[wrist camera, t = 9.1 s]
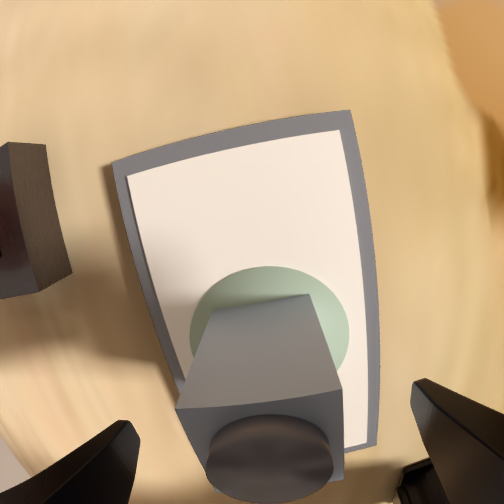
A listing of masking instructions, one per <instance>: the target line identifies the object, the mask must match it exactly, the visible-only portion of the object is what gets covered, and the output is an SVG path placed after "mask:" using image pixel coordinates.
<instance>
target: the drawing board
mask: <svg viewBox="0 0 504 504" xmlns="http://www.w3.org/2000/svg"><path fill="white" fill-rule="evenodd" d="M112 168H113V173H114V178H115V183H116V188H117V193H118V198H119V202H120V207H121V211H122V216H123V220H124V224H125V228H126V232H127V236H128V240H129V244H130V248H131V252H132V255H133V259H134V263H135V266H136V270H137V273H138V277H139V280H140V284H141V287H142V290H143V293H144V297H145V300H146V303H147V306H148V309H149V312H150V315H151V318H152V321H153V324H154V327H155V330H156V333H157V336H158V339H159V342H160V344H161V347H162V350H163V353H164V355H165V358H166V361H167V363H168V366H169V369H170V371H171V374H172V376H173V379H174V381H175V384H176V386H177V389H178V391H179V393H181V391H182V388H183V385H184V383H185V380H186V378H187V375H188V372H189V370H190V367H191V365H192V362H193V359H194V357H195V354H196V352H197V349H198V346H199V344H200V341H201V339H202V336H203V334H204V331H205V328H206V326H207V323H208V321H209V318H210V316H211V313H212V311H213V310H214V309H221V308H228V307H234V306H241V305H247V304H253V303H259V302H266V301H271V300H277V299H283V298H289V297H295V296H300V295H306V294H310V297H311V300H312V303H313V305H314V308H315V311H316V314H317V316H318V319H319V322H320V325H321V327H322V330H323V333H324V336H325V339H326V342H327V344H328V347H329V350H330V353H331V356H332V359H333V362H334V365H335V368H336V371H337V374H338V377H339V380H340V383H341V385H342V389H343V411H344V453H348V452H352V451H356V450H360V449H364V448H368V447H372V446H376V444H377V432H378V417H379V394H380V327H379V304H378V288H377V275H376V263H375V253H374V243H373V234H372V226H371V219H370V211H369V204H368V198H367V191H366V185H365V179H364V173H363V168H362V162H361V157H360V152H359V147H358V142H357V137H356V132H355V128H354V123H353V119H352V115H351V111H350V110H342V111H333V112H325V113H318V114H310V115H304V116H297V117H291V118H285V119H279V120H273V121H267V122H262V123H257V124H252V125H247V126H242V127H237V128H233V129H228V130H224V131H219V132H215V133H211V134H207V135H203V136H199V137H195V138H191V139H187V140H183V141H180V142H176V143H172V144H169V145H165V146H162V147H158V148H155V149H152V150H148V151H145V152H142V153H139V154H136V155H132V156H129V157H126V158H123V159H120V160H117V161H114V162H112Z"/></svg>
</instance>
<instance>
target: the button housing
mask: <svg viewBox="0 0 504 504" xmlns="http://www.w3.org/2000/svg"><path fill="white" fill-rule="evenodd" d="M72 273H73V272H72V269H71V266H70V262H69V259H68V255H67V252H66V248H65V244H64V240H63V236H62V232H61V228H60V224H59V219H58V215H57V210H56V206H55V201H54V196H53V190H52V185H51V179H50V173H49V166H48V159H47V152H46V145H43V144H31V143H17V142H7V143H6V144H4V145H3V146H1V147H0V299H4V298H9V297H15V296H20V295H25V294H30V293H36V292H40V291H41V290H43V289H45V288H47V287H48V286H50V285H52V284H54V283H55V282H57V281H59V280H61V279H63V278H64V277H66V276H68V275H70V274H72Z"/></svg>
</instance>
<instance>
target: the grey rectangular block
mask: <svg viewBox="0 0 504 504" xmlns="http://www.w3.org/2000/svg"><path fill="white" fill-rule="evenodd" d="M175 411H176V413H177V415H178V417H179V419H180V422H181V424H182V426H183V428H184V430H185V432H186V435H187V437H188V439H189V441H190V443H191V445H192V447H193V449H194V451H195V453H196V455H197V457H198V459H199V461H200V463H201V465H202V467H203V468H204V470H205V472H206V476H207V478H208V480H209V482H210V483H211V484H212V485H213V487H214V489H215V490H216V492H217V493H224V494H226V495H228V496H230V497H232V498H235V499H238V500H242V501H246V502H251V503H261V504H275V503H284V502H290V501H294V500H298V499H301V498H304V497H306V496H309V495H311V494H313V493H315V492H316V491H318V490H319V489H321V488H322V487H323V486H324V485H325V484H326V483H327V482H333V481H338V480H342V479H344V411H343V389H342V385H341V383H340V380H339V377H338V374H337V371H336V368H335V365H334V362H333V359H332V356H331V353H330V350H329V347H328V344H327V342H326V339H325V336H324V333H323V330H322V327H321V325H320V322H319V319H318V316H317V314H316V311H315V308H314V305H313V303H312V300H311V297H310V294H306V295H300V296H295V297H289V298H283V299H277V300H271V301H266V302H259V303H253V304H247V305H241V306H234V307H228V308H221V309H214V310H213V311H212V313H211V316H210V318H209V321H208V323H207V326H206V328H205V331H204V334H203V336H202V339H201V341H200V344H199V346H198V349H197V352H196V354H195V357H194V359H193V362H192V365H191V367H190V370H189V372H188V375H187V378H186V380H185V383H184V385H183V388H182V391H181V393H180V396H179V399H178V401H177V404H176V407H175Z"/></svg>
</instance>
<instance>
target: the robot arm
mask: <svg viewBox="0 0 504 504" xmlns="http://www.w3.org/2000/svg"><path fill="white" fill-rule="evenodd" d="M410 404H411V408H412V411H413V414H414V417H415V420H416V423H417V426H418V429H419V432H420V435H421V438H422V441H423V443H424V446H425V448H426V450H427V453H428V455H429V457H430V460H428V461H425V462H422V463H420V464H417V465H414V466H411V467H408V468H406V469H405V470H404V471H403V472H402V475H401V479H400V482H399V486H398V487H397V489H396V491H395V494H394V498H393V504H504V414H502V413H500V412H498V411H495V410H493V409H491V408H489V407H487V406H484V405H482V404H480V403H478V402H476V401H473V400H471V399H469V398H467V397H465V396H463V395H460V394H458V393H456V392H454V391H452V390H450V389H448V388H445V387H443V386H441V385H439V384H437V383H435V382H433V381H431V380H429V379H426V378H423V379H420V380H417V381H414V382H413V384H412V391H411V400H410ZM139 448H140V438H139V435H138V434H137V432H136V430H135V428H134V427H133V425H132V423H131V422H130V421H128V420H118V421H116V422H115V423H113V424H112V425H110V426H109V427H107V428H106V429H105V430H103V431H102V432H100V433H99V434H97V435H96V436H95V437H93V438H92V439H90V440H89V441H87V442H86V443H84V444H83V445H81V446H80V447H78V448H77V449H75V450H74V451H72V452H71V453H69V454H68V455H66V456H65V457H63V458H62V459H60V460H59V461H57V462H56V463H54V464H53V465H51V466H49V467H48V468H47V469H45V470H43V471H42V472H40V473H38V474H37V475H35V476H33V477H32V478H30V479H28V480H26V481H24V482H23V483H21V484H19V485H17V486H15V487H12V488H10V489H8V490H6V491H4V492H2V493H0V504H128V502H129V498H130V494H131V491H132V487H133V483H134V479H135V474H136V467H137V461H138V454H139Z"/></svg>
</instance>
